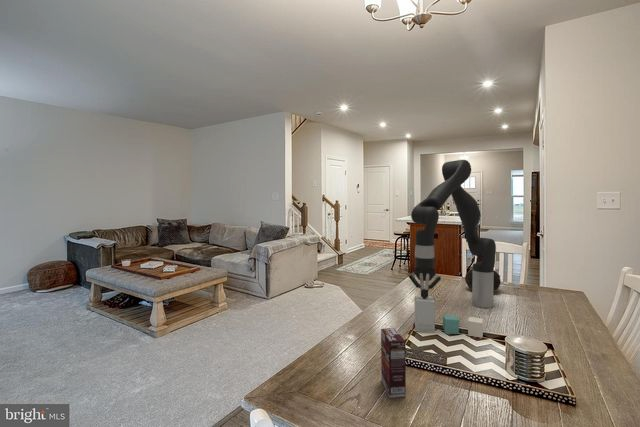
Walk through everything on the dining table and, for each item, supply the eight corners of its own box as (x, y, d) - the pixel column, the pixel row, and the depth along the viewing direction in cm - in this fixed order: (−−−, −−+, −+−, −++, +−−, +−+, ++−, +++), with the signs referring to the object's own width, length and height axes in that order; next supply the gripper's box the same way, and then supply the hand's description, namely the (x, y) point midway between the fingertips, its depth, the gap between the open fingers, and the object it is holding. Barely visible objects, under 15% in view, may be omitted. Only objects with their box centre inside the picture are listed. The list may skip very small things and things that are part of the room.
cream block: (468, 331, 130) (469, 316, 130) (482, 333, 128) (483, 318, 128) (468, 336, 126) (468, 321, 125) (482, 338, 123) (482, 323, 123)
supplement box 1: (380, 380, 96) (380, 328, 96) (396, 379, 97) (396, 327, 96) (389, 398, 88) (388, 341, 87) (406, 397, 88) (406, 340, 87)
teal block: (442, 329, 133) (442, 314, 132) (455, 329, 132) (455, 315, 132) (445, 334, 128) (445, 319, 127) (458, 335, 127) (459, 319, 127)
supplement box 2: (435, 333, 129) (435, 301, 128) (415, 331, 130) (415, 300, 130) (432, 325, 136) (432, 296, 135) (414, 324, 138) (414, 295, 137)
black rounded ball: (501, 297, 172) (502, 244, 170) (464, 293, 179) (465, 243, 178) (499, 288, 188) (500, 240, 186) (465, 285, 196) (465, 238, 194)
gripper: (442, 255, 133) (441, 296, 134) (408, 253, 137) (408, 294, 138) (442, 258, 126) (442, 302, 127) (407, 256, 130) (406, 299, 131)
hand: (424, 298), depth 133 cm, fingers closed
